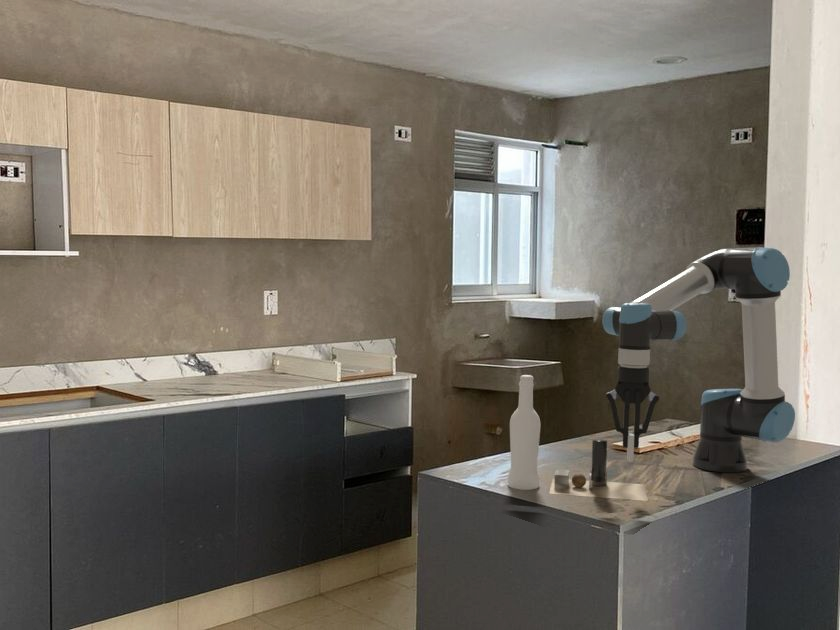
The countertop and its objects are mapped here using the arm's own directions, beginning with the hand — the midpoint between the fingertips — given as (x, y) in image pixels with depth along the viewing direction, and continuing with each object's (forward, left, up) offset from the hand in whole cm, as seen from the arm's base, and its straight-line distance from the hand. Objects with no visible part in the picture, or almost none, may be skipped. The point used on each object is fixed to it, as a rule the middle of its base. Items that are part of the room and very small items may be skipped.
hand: (630, 460), depth 211 cm
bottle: (+26, -5, -11) cm, 29 cm away
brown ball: (+12, -7, -9) cm, 17 cm away
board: (+7, -7, -11) cm, 15 cm away
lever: (+8, -6, -9) cm, 13 cm away
